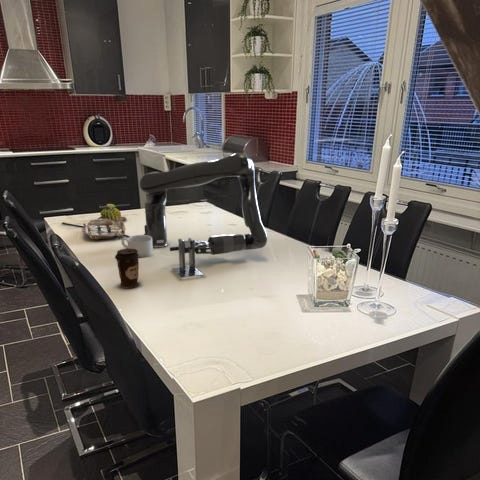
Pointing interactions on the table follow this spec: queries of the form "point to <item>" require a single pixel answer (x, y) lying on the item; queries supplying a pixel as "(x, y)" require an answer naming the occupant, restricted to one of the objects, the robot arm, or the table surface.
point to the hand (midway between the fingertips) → (181, 249)
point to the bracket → (190, 269)
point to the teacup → (139, 244)
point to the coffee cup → (128, 267)
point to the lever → (186, 245)
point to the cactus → (111, 213)
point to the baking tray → (104, 229)
